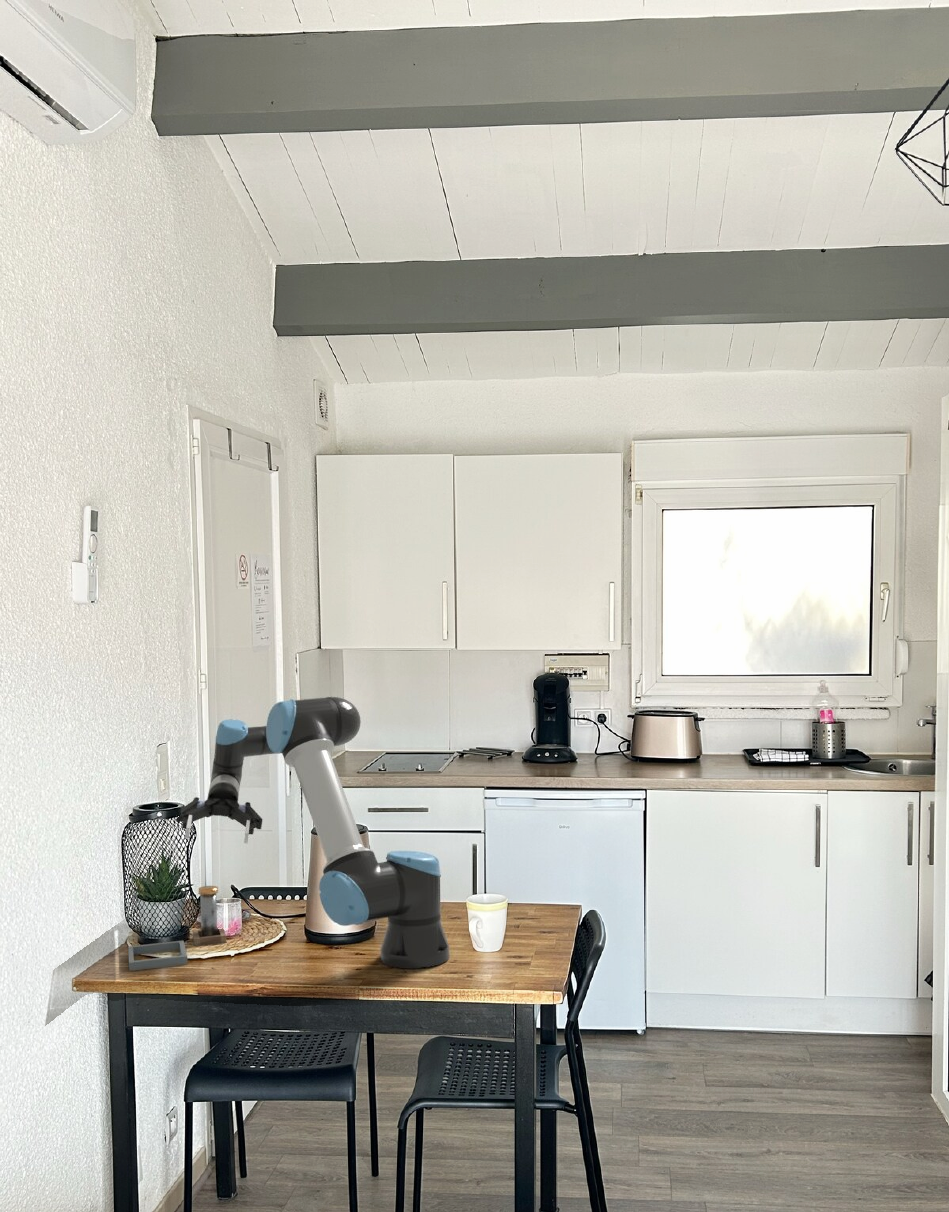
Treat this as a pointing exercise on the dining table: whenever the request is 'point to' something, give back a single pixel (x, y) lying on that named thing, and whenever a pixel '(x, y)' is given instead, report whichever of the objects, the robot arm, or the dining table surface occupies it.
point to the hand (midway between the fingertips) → (216, 835)
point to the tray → (157, 961)
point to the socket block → (209, 938)
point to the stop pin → (208, 910)
